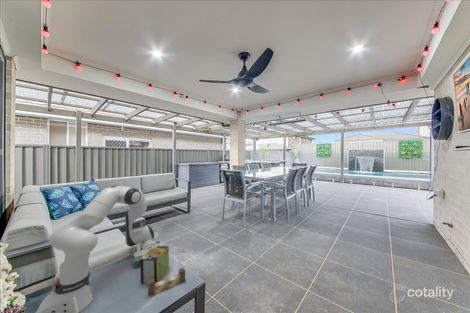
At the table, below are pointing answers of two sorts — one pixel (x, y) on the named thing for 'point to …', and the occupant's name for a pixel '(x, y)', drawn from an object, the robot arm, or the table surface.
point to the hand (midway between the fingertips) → (152, 258)
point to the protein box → (154, 264)
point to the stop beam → (166, 283)
